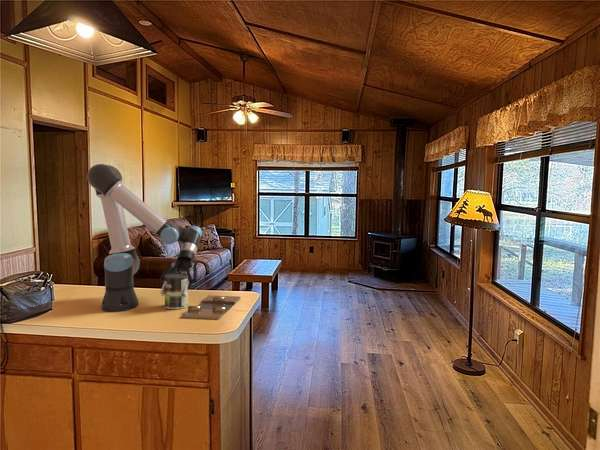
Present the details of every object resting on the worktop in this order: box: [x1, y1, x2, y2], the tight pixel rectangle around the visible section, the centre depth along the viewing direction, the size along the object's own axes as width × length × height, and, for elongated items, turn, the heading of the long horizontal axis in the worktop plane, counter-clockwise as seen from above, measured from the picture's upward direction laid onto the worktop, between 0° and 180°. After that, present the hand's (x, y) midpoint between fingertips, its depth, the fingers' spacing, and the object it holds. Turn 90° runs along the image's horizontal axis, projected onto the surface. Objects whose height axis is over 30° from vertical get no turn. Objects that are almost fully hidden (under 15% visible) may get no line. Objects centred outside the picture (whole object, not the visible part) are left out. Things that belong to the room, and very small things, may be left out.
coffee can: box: [164, 272, 189, 310], centre depth 180 cm, size 10×10×14 cm
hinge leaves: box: [181, 294, 241, 320], centre depth 178 cm, size 16×31×3 cm, turn 172°
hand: (173, 294), depth 177 cm, fingers closed on coffee can, 10 cm apart
